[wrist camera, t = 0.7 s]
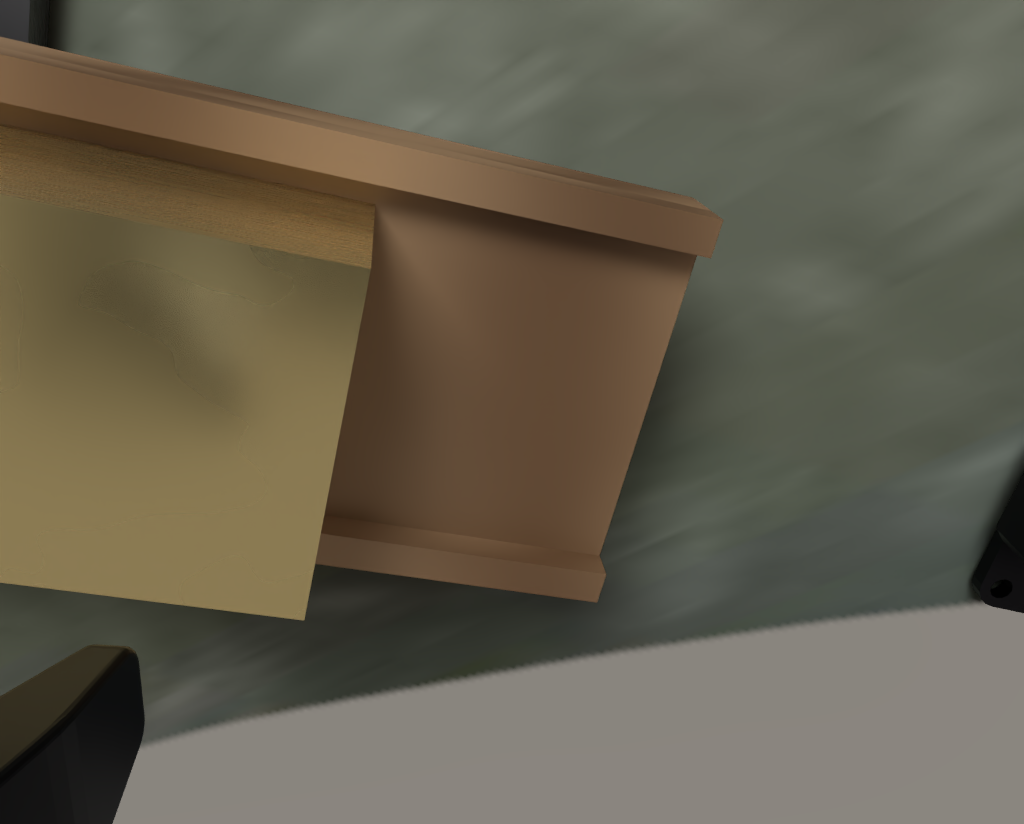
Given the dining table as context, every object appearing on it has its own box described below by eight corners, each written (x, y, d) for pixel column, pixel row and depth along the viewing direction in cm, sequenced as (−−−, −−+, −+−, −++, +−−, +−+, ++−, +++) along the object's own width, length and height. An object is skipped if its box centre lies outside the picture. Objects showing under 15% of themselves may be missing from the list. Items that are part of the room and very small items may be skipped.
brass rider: (374, 203, 14) (370, 268, 11) (321, 493, 16) (303, 620, 13) (-228, 73, 13) (-438, 105, 9) (-209, 413, 14) (-377, 535, 11)
